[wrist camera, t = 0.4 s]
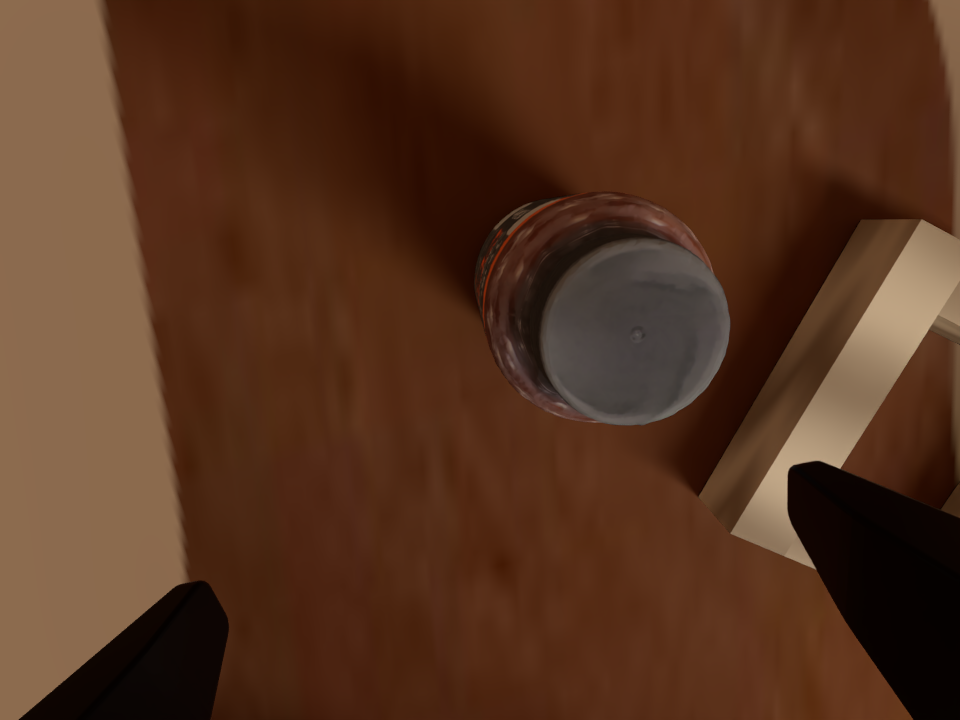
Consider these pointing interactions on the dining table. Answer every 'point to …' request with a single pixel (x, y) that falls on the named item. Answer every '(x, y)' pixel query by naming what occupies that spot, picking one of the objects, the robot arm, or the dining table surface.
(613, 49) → the dining table surface
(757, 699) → the dining table surface
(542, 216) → the supplement bottle
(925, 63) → the dining table surface
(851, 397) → the cream square shallow tray
